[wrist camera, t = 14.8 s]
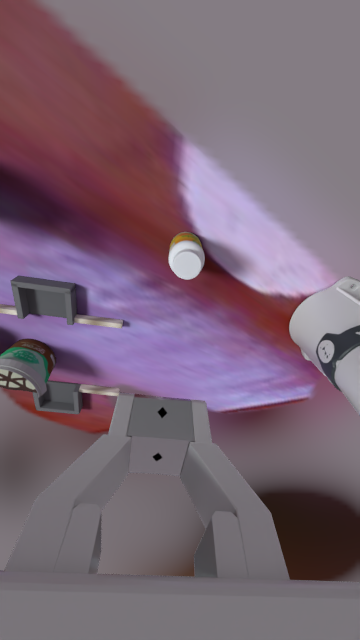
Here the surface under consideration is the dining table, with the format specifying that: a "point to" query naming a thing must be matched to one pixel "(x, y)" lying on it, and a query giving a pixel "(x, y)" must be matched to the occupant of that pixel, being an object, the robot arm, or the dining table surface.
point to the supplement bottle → (186, 255)
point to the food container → (27, 366)
